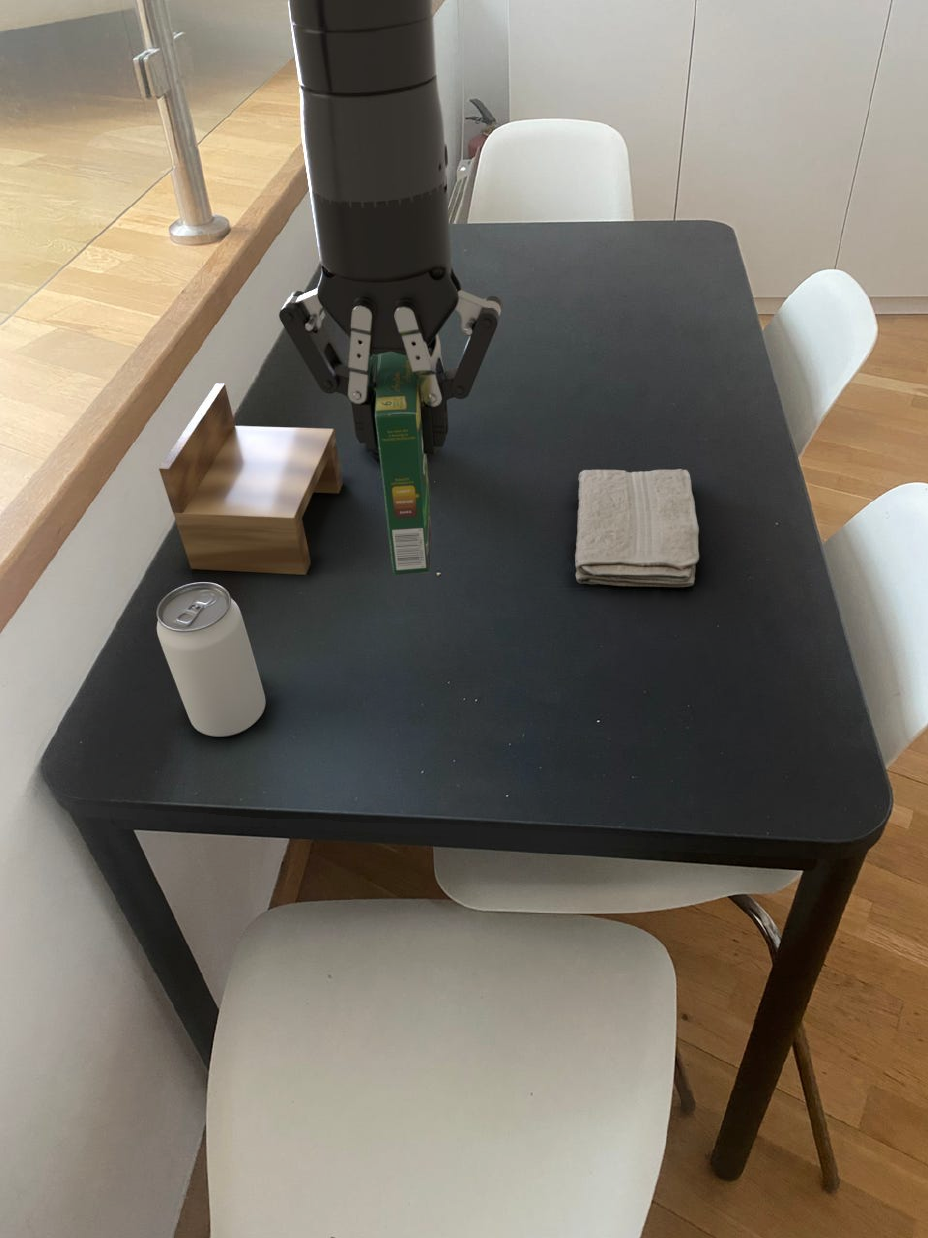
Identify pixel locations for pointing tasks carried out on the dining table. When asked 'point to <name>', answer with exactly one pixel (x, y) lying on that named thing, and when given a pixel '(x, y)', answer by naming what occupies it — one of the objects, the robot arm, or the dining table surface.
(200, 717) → the can
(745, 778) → the dining table surface
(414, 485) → the coffee box
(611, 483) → the washcloth
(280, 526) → the shelf
